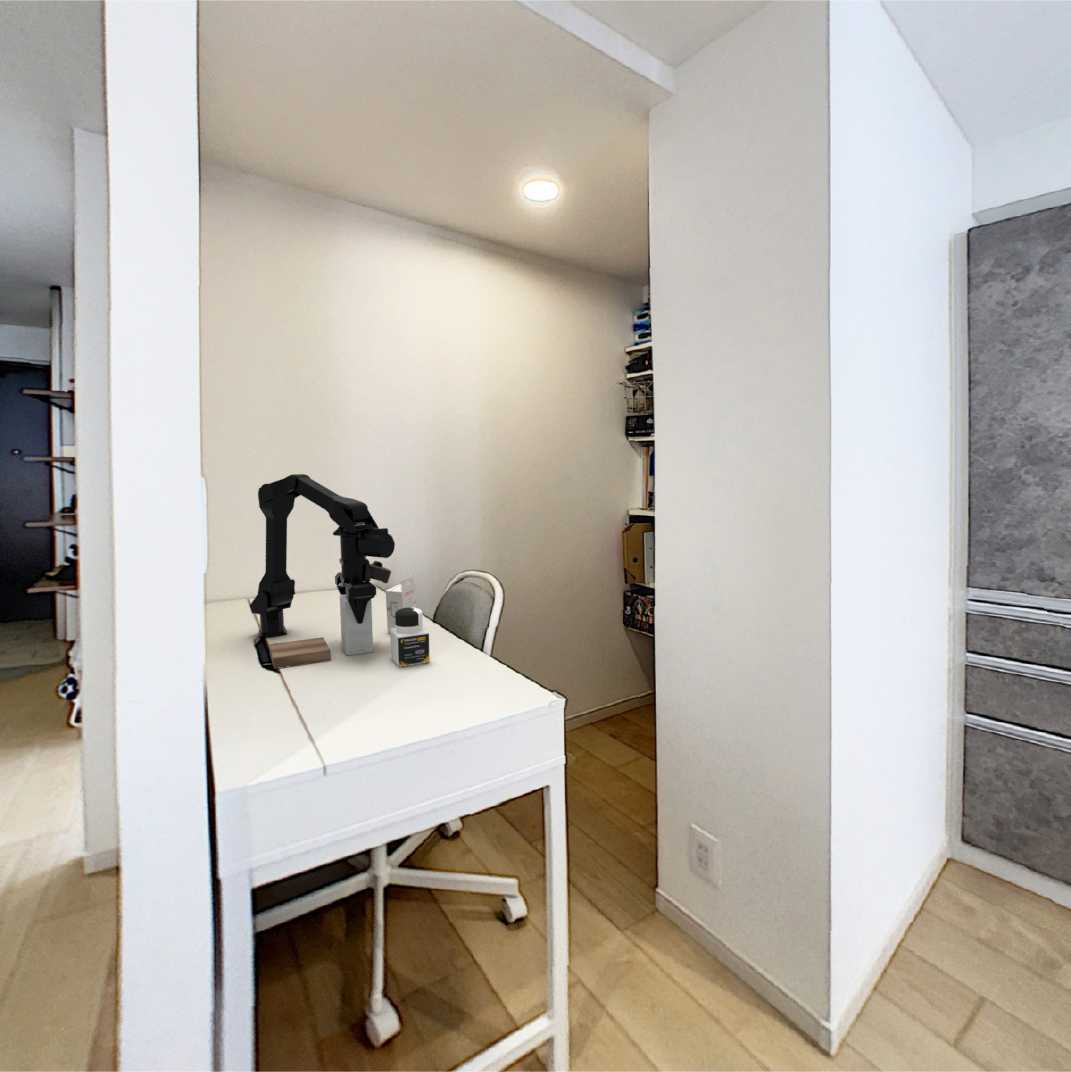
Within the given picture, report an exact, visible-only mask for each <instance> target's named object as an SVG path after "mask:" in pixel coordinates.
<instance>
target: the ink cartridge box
mask: <svg viewBox="0 0 1071 1072" xmlns="http://www.w3.org/2000/svg"><path fill="white" fill-rule="evenodd" d="M408 581H409V582H408ZM407 582H408V583H407ZM416 600H417V599H416V584H415V576H414V574H413V573H412V574H411V575H408V576H406V577H404V578H402V579H401V580H400V584H397V585H395V586H393V587H391V588H389V589H387V590H385V605H386V606H385V607H386V620H387V621H386V622H387V623H386V626H387V628H386V629H387V634H388V635H390V629H392V628H396V622H395V613H396V611H398V610H400V609H402V608H417V607H416V605H417V604H416V603H417V602H416Z"/></svg>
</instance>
